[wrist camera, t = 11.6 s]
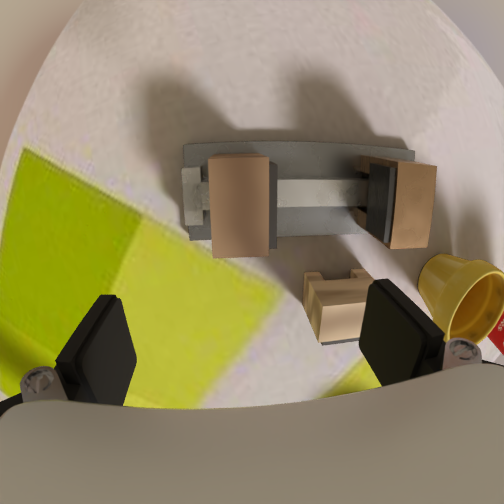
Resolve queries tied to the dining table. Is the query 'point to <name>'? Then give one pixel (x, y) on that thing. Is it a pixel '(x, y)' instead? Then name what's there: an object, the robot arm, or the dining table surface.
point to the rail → (298, 166)
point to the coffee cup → (498, 334)
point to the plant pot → (462, 296)
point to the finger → (242, 204)
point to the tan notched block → (336, 305)
